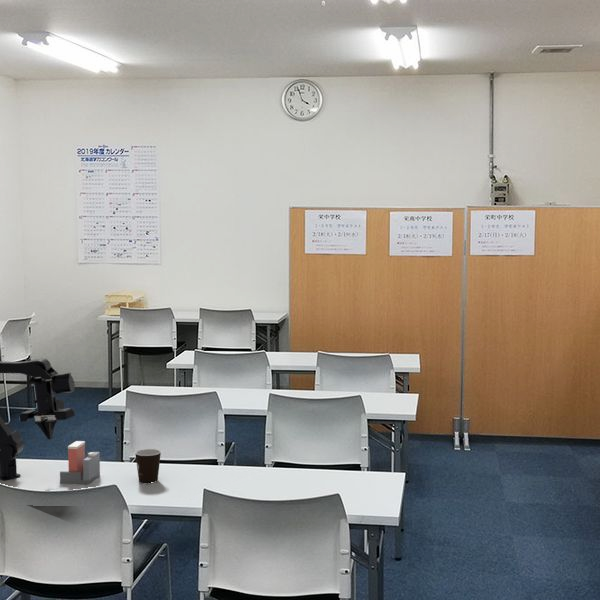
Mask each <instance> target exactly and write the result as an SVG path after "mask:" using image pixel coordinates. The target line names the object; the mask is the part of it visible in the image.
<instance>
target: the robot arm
mask: <svg viewBox="0 0 600 600" xmlns="http://www.w3.org/2000/svg"><path fill="white" fill-rule="evenodd" d="M0 374H21V375H24V376H28V377H30V379H29V380H28V381H27V382H26V384H27V385H33V390H34V395H35V396H34V397H35V399H33V404H36V409H32V410H31V409H29V410H26V411H23V412H21V413H20V415H19V422H21V423H22V422H28V421H29V420H30V419H34V422H33V423H34V424H36V425H37V427H39V429H40V430H41V432H42V433H43V434H44V436H45V437H46V439H48V440H52V438H53V436H54V435H53V434H54V432H55V426H56V425H57V424H56V423H57V422H58V421H62V420H63V421H65V420H68V419H70V418H73V417H74V416H75V415H76V414H75V410H74V409H73V408H71V407H70V408H69V407H68V408H65V401H64V400H59V399H58V400H57V397H56V395H57V394H58V395H59V394H66V393H74V391H75V387H76V386H75V380H74V378H73V376H72V373H71V372H65V373H60V374H59V372H58V371H57V370H55V369H54V367H53V366H52V365H51V362H50V361H49V360H48V359H47V358H44V357H43V358H41V357H40V358H36V359H32V360H31V359H30V360H27V361H1V360H0ZM54 393H55V394H56V395H54ZM24 447H25V443H24V437H22V435H21V434H20V432H19V431H18V429H16V430H14V431H13V430H12V429H10V428H9V427H8V426H7V424H6V423H5V420H3V418H2V416H1V415H0V480H2V481H8V480H10V479H14V478H18V477H21V476H22V475H21V474H20V473H17V468H18V467H17V457H19V454H20V453H21V452H22V451H23V449H24Z"/></svg>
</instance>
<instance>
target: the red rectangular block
mask: <svg viewBox="0 0 600 600" xmlns="http://www.w3.org/2000/svg"><path fill="white" fill-rule="evenodd" d="M85 445H86V440H85V441H84V440H75V441H74V442H72V443H71V444H69V445H68V446H67V452H68V454H67V455H68V471H71V472H82V474H83V460H84V459H85V458H86V450H85V449H86V448H85V447H86V446H85Z"/></svg>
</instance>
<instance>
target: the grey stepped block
mask: <svg viewBox="0 0 600 600" xmlns="http://www.w3.org/2000/svg"><path fill="white" fill-rule="evenodd" d="M100 460H101V459H100V451H91V452H87V456H86V457H85V459H84V460H83V474H82V472H71V471H69V470H68V471H66V470H65V471H64V470H61V471H59V484H61V485H84V486H85V485H86V486H87V485H88V486H89V485H91V484H92V483H93V482H94V481H95V480H97V479H98V478H99V477H100V476H101V469H100V468H101V461H100Z"/></svg>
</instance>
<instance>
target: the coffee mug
mask: <svg viewBox="0 0 600 600" xmlns="http://www.w3.org/2000/svg"><path fill="white" fill-rule="evenodd" d="M161 453H162V452H161V450H159V449H156V448H143V449H140V450H137V451H135V454H134V455H135V461H136V469H137V476H138V482H139V483H140V482H141V483H140V484H144V483H150V484H152V483H151V482H155V481H157V480H158V481H159V473H160V472H159V471H160V463H161ZM158 481H157V482H158ZM155 483H156V482H155Z"/></svg>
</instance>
